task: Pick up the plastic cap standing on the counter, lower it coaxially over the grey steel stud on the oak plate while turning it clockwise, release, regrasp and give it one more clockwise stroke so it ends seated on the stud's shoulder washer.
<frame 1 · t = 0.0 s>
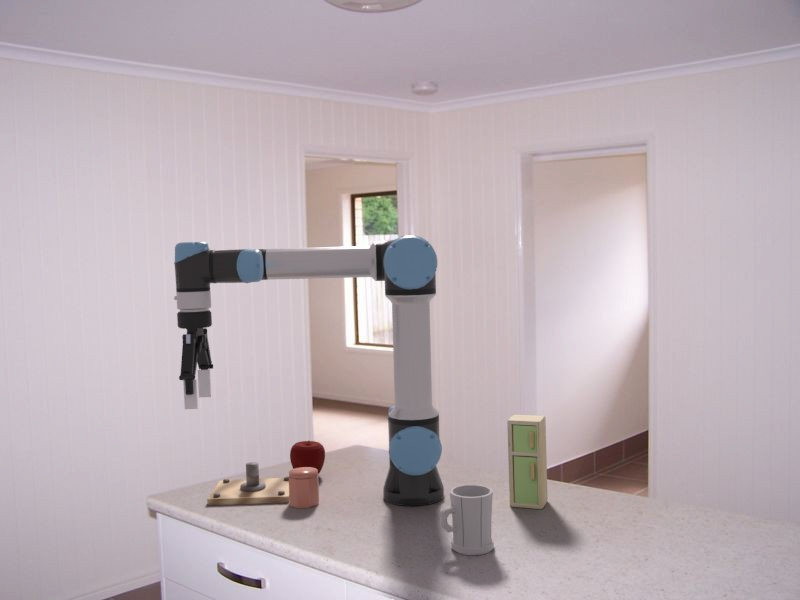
hand: (198, 402, 178), 28 cm above the worktop, fingers open, 13 cm apart
apple: (308, 477, 214), on the worktop
cap: (304, 503, 192), on the worktop
cup: (470, 550, 160), on the worktop
stud plate: (253, 493, 201), on the worktop
toy refrigerator: (528, 505, 187), on the worktop
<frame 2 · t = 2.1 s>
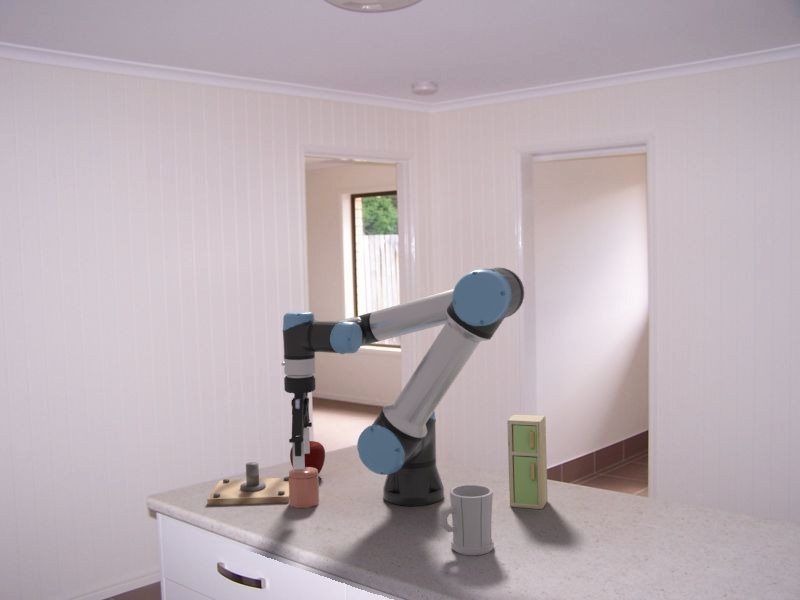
hand: (301, 460, 192), 11 cm above the worktop, fingers open, 13 cm apart
nothing on the worktop moved.
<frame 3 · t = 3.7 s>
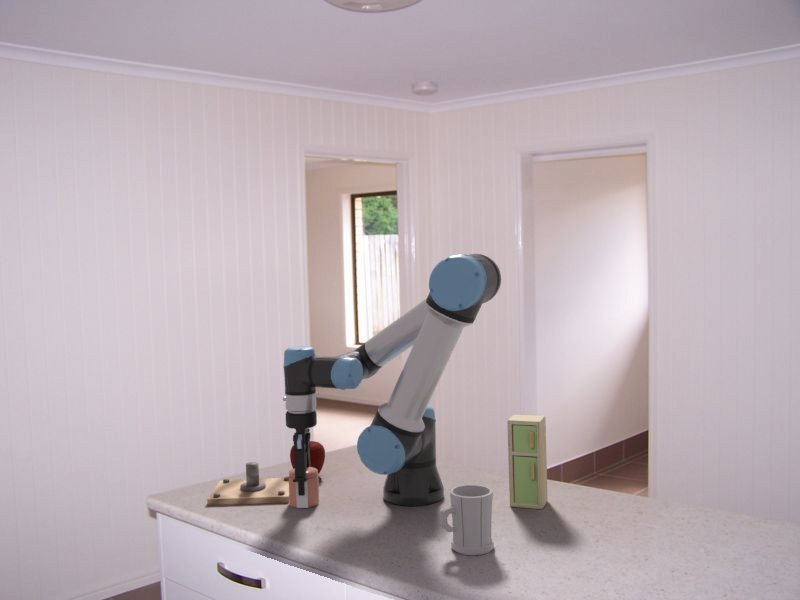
hand: (303, 502, 192), 0 cm above the worktop, fingers closed on cap, 7 cm apart
cap: (304, 503, 192), on the worktop, touching gripper
everything else where it was.
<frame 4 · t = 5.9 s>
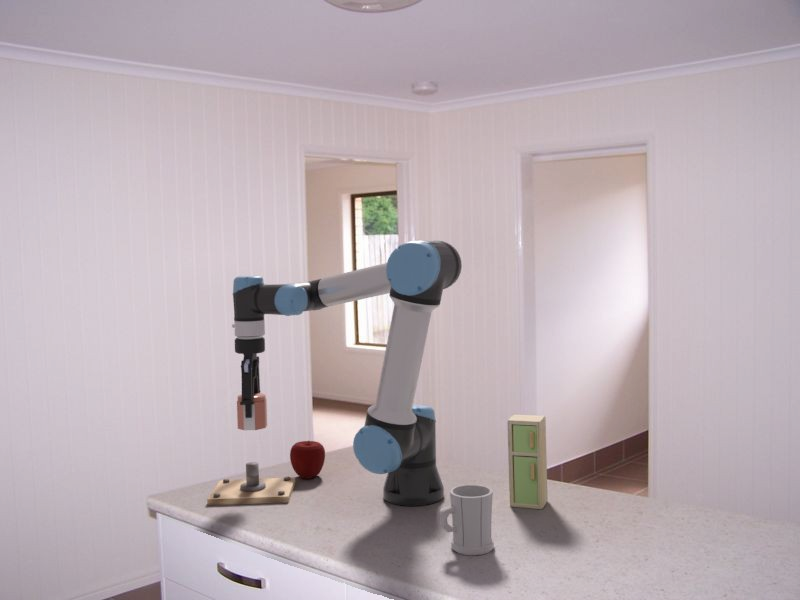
hand: (252, 426, 199), 18 cm above the worktop, fingers closed on cap, 7 cm apart
cap: (252, 426, 199), point 17 cm above the worktop, touching gripper
everything else where it was.
when the fingers open (4 cm above the worktop, at t = 8.4 s): cap drops 1 cm, resting on stud plate.
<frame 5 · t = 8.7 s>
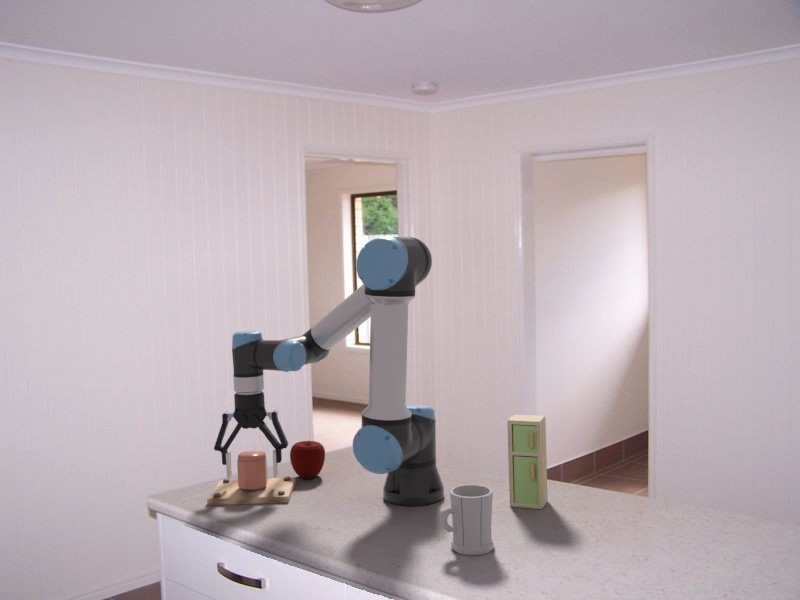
hand: (252, 476, 201), 5 cm above the worktop, fingers open, 11 cm apart
cap: (253, 484, 201), point 2 cm above the worktop, touching stud plate
everything else where it was.
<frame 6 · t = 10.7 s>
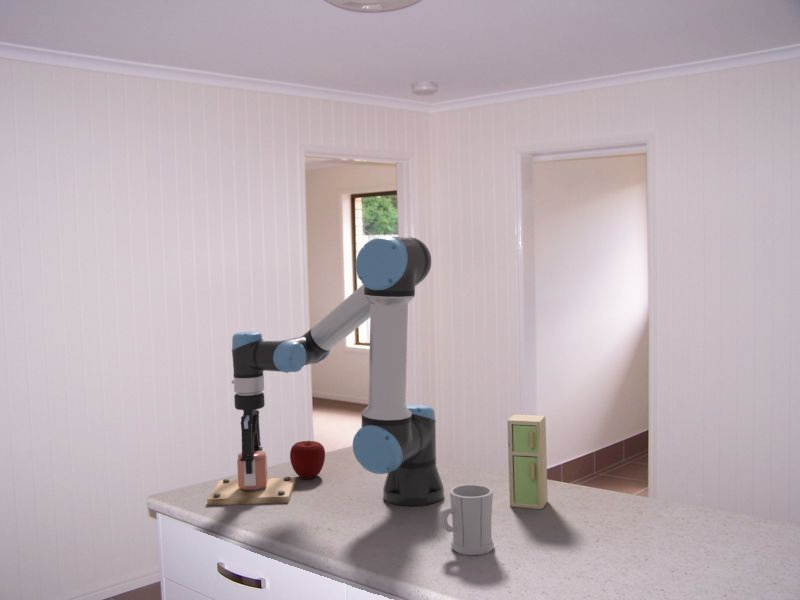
hand: (252, 480, 201), 3 cm above the worktop, fingers closed on cap, 7 cm apart
cap: (253, 484, 201), point 2 cm above the worktop, touching gripper, stud plate
everything else where it was.
when the fingers open (3 cm above the worktop, at t = 11.9 s): cap stays where it is, resting on stud plate.
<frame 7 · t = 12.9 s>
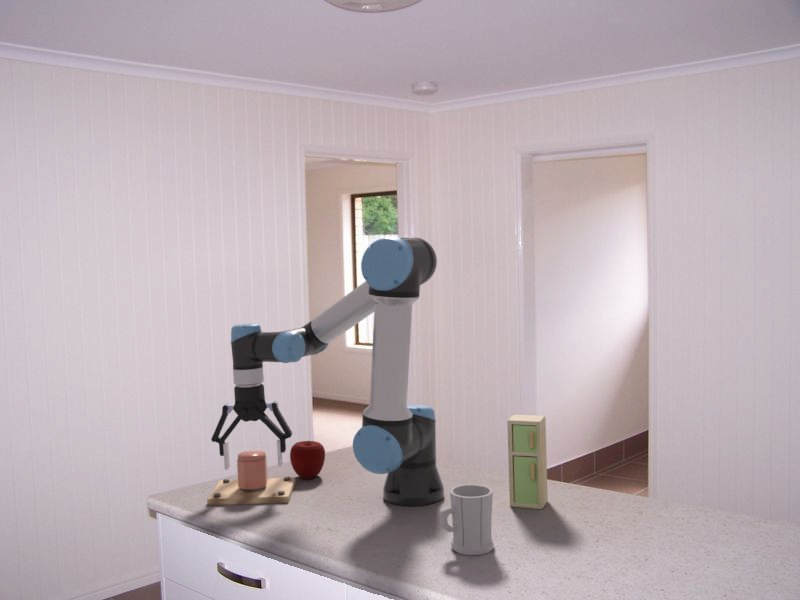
hand: (253, 466, 200), 7 cm above the worktop, fingers open, 13 cm apart
cap: (252, 484, 201), point 2 cm above the worktop, touching stud plate
everything else where it was.
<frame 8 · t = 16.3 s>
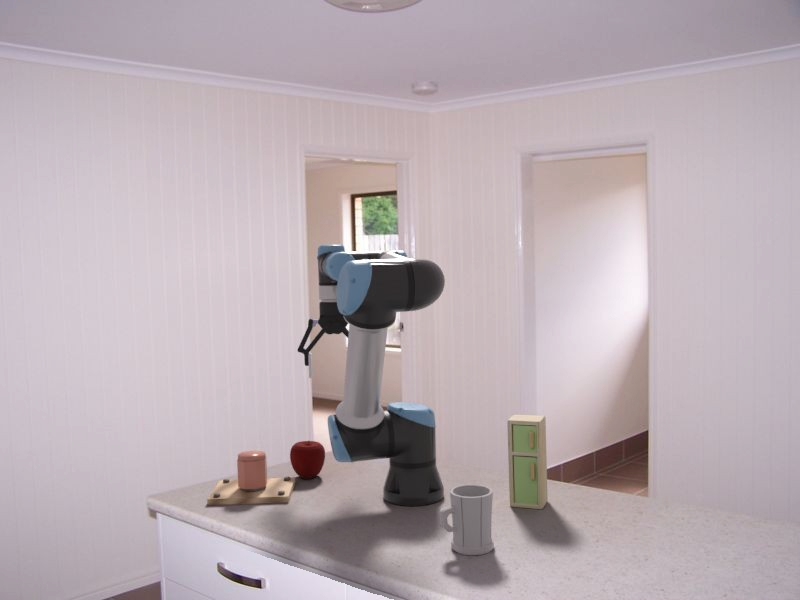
hand: (335, 376, 218), 27 cm above the worktop, fingers open, 13 cm apart
nothing on the worktop moved.
at the end: cap 0.0 cm off-centre on the stud plate, point 2.3 cm above the stud plate's base; cap tilted 0°; the gripper is holding nothing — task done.
